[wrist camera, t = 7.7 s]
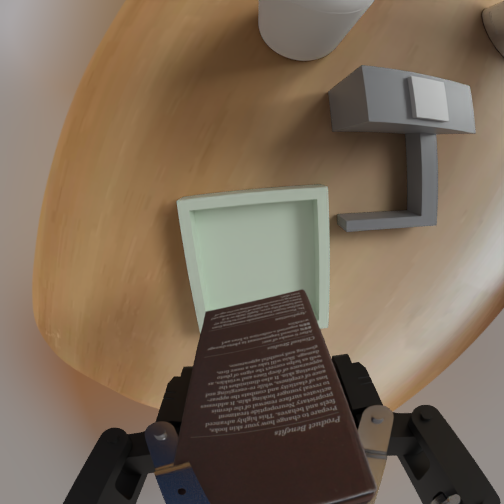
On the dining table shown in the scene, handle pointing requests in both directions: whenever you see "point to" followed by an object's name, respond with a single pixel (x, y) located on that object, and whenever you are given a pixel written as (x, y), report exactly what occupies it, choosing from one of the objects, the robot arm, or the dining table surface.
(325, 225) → the tray
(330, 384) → the box
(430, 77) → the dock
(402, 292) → the dining table surface
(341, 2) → the pill bottle
